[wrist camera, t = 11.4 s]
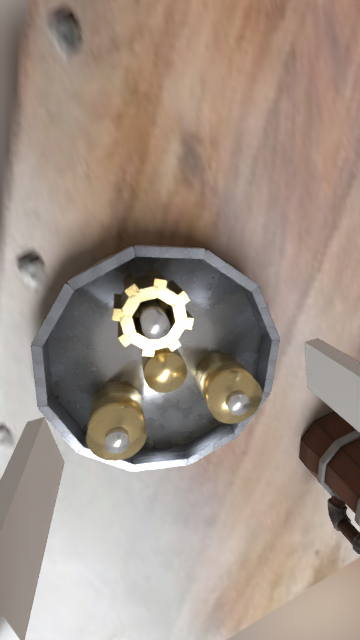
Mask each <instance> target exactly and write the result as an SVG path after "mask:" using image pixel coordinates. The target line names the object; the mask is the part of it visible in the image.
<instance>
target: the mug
mask: <svg viewBox="0 0 360 640" xmlns="http://www.w3.org/2000/svg"><path fill="white" fill-rule="evenodd" d="M300 459H301V461H302V462H303V463H304V465H305V466H306V467H307V468H308V469H309V470H310V471H311V473H312V474H313V475H314V476H315V477H316V478H317V480H318V481H319V483H320V484H321V485H322V486H323V487H324V488H325V489H326V490H327V491H328V493H329V494H330V495H331V496H332V497H331V498H329V499H328V511H329V516H330V519H331V521H332V523H333V525H334V528H335V529H336V530H337V531H341V532H342V534H343V535H344V536H345V537H346V538H347V539H348V540H349V541H350V543H351V544H352V545H353V549H354V550H355V551H356V552H357V553H358V554H360V533H359V531H358V530H357V529H356V528H355V527H354V526H353V525H352V524H351V523H350V522H351V520H350V519H349V518H348V516H347V514H346V510H347V506H348V507H349V508H350V509H351V510H352V511H353V512H354V513H355V514H356V515H355V521H356V523H357V524H358V525H359V526H360V432H358V431H357V430H356V429H355V428H354V427H353V426H351V425H350V424H349V423H348V422H347V421H346V420H345V419H343V418H342V417H341V416H340V415H339V414H338V413H336V412H333V413H331V414H329V415H327V416H324V417H322V418H320V419H318V420H316V421H315V422H314V423H313V425H312V426H311V427H310V429H309V430H308V431H307V433H306V434H305V435H304V436H303V438H302V439H301V448H300ZM345 504H346V505H347V506H346V505H345Z"/></svg>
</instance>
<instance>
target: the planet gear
mask: <svg viewBox="0 0 360 640" xmlns="http://www.w3.org/2000/svg"><path fill="white" fill-rule="evenodd" d="M123 283H124V290H123V292H122V293H121V294H115V293H114V301H113V316H112V320H114V321H118V339H119V341H120V342H121V343H122V344H123V345H124V346H125V347H126V346H128V345H129V344H130V343H132V344H134V345H136V346H138V347H140V348H141V352H142V356H151V357H154V352H155V350H157V349H161V348H165V347H169V348H170V350H171V351H174V350H175V349H176V348H178V347H179V346H181V344H180V342H179V340H178V338H179V337H180V335H181V334H182V332H183V330H184V329H192V325H193V320H194V318H193V317H192V316H191V314H190V313H189V312H188V311H187V309H186V308H185V306H184V305H185V304H186V303H187V302H189V301H190V299H189V298H188V296H187V295H186V293H185V292H184V291H183V290H182V289H181V288H180V287H179V286H178V285H177V284H176V283H175V282H174V281H173V280H171V281H169V282H168V283H167V280H166V279H165V278H164V277H163V275H162V274H161V273H160V272H159V271H157V270H151V269H148V273H147V275H146V276H142V277H138V278H135V277H134V276H133V274H132V273H131V274H129V275H128V276H127V277H125V278H124V279H123ZM155 298H159V299H161V300H163V301H164V302H165V303H166V306H165V308H164V309H163V311H164V313H165V314H166V316H167V318H168V320H169V323H170V329H169V332H168V334H167V335H166V336H165V337H163V338H161V339H158V340H152V339H149V338H148V337H146V336H145V335H144V333H143V331H142V327H141V323H140V318H139V317H138V316H136V315H134V312H135V311H136V309H137V307H138V306H139V304H140V302H143V301H147V300H151V299H155Z"/></svg>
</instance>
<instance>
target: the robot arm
mask: <svg viewBox="0 0 360 640" xmlns="http://www.w3.org/2000/svg"><path fill="white" fill-rule="evenodd" d="M305 360H306V378H307V388H309V389H310V390H311V391H312V392H313V393H314V394H316V395H317V396H318V397H319V398H320V399H321V400H322V401H324V402H325V403H326V404H327V405H328V406H329V407H331V408H332V409H333V410H334V411H335V412H336V413H338V414H339V415H340V416H341V417H342V418H343V419H345V420H346V421H347V422H348V423H349V424H350V425H351V426H353V427H354V428H355V429H356V430H357V431H358V432H360V362H359V361H357V360H355V359H353V358H352V357H350V356H348V355H346V354H345V353H343V352H341V351H339V350H338V349H336V348H334V347H332V346H331V345H329V344H327V343H325V342H324V341H322V340H320V339H318V338H317V339H314V340H310V341H307V342H305ZM63 467H64V460H63V458H62V455H61V453H60V451H59V449H58V446H57V444H56V442H55V440H54V438H53V435H52V433H51V431H50V429H49V426H48V424H47V422H46V420H45V417H43V418H40V419H36V420H33V421H29V422H27V424H26V426H25V428H24V430H23V432H22V435H21V437H20V439H19V441H18V443H17V445H16V448H15V450H14V452H13V454H12V456H11V458H10V461H9V463H8V465H7V467H6V469H5V472H4V474H3V476H2V478H1V480H0V640H25V636H26V631H27V627H28V622H29V618H30V613H31V609H32V605H33V600H34V596H35V591H36V587H37V582H38V578H39V573H40V569H41V564H42V560H43V556H44V551H45V547H46V542H47V538H48V533H49V529H50V524H51V520H52V516H53V511H54V507H55V502H56V498H57V493H58V489H59V484H60V480H61V476H62V471H63Z"/></svg>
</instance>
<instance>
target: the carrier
mask: <svg viewBox="0 0 360 640" xmlns="http://www.w3.org/2000/svg"><path fill="white" fill-rule="evenodd" d="M148 269H151V270H157V271H159V272H160V273H161V274H162V275H163V277H164V278H165V279H166V280H167V283H168V282H169V281H171V280H173V281H174V282H175V283H176V284H177V285H178V286H179V287H180V288H181V289H182V290H183V291H184V292H185V293H186V295H187V296H188V298H189V299H190V301H189V302H187V303H186V304H185V305H184V306H185V308H186V309H187V311H188V312H189V313H190V314H191V316H192V317H193V318H194V320H193V325H192V329H184V330H183V332H182V334H181V335H180V337H179V338H178V340H179V342H180V344H181V346H179V347H178V348H176V349H175V350H174V351H171V350H170V348H169V347H165V348H161V349H157V350H155V352H154V357H151V356H142V352H141V348H140V347H138V346H136V345H134V344H132V343H130V344H129V345H128V346H126V347H125V346H124V345H123V344H122V343H121V342H120V341H119V339H118V321H114V320H112V316H113V301H114V293H115V294H121V293H122V292H123V290H124V283H123V279H124V278H125V277H127V276H128V275H129V274H131V273H132V274H133V276H134V277H135V278H138V277H142V276H146V275H147V273H148ZM165 306H166V303H165V302H164V301H163V300H161V299H159V298H155V299H151V300H147V301H143V302H140V304H139V306H138V307H137V309H136V311H135V312H134V315H136V316H138V317H139V318H140V323H141V327H142V331H143V333H144V335H145V336H146V337H148V338H149V339H152V340H158V339H161V338H163V337H165V336H166V335H167V334H168V332H169V329H170V323H169V320H168V318H167V316H166V314H165V313H164V311H163V309H164V308H165ZM279 338H280V337H279V335H278V332H277V330H276V327H275V324H274V322H273V319H272V317H271V314H270V312H269V309H268V307H267V304H266V302H265V299H264V297H263V294H262V292H261V289H260V287H259V286H258V284H256V283H255V282H253V281H252V280H250V279H249V278H247V277H246V276H245V275H243V274H242V273H240V272H239V271H237V270H236V269H235V268H233V267H232V266H230V265H229V264H227V263H226V262H224V261H223V260H222V259H220V258H219V257H217V256H216V255H214V254H213V253H212V252H210V251H209V250H207V249H204V248H200V247H186V246H171V245H141V244H133V247H132V245H129V246H128V247H126V248H124V249H122V250H120V251H118V252H117V253H114V254H112V255H110V256H108V257H106V258H104V259H101V260H100V261H98V262H97V263H95V264H94V265H92V266H90V267H89V268H87V269H85V270H83V271H81V272H80V273H78V274H76V275H74V276H72V277H71V278H70V279H69V280H68V281H67V282H66V283H65V285H64V286H63V288H62V290H61V292H60V294H59V295H58V297H57V299H56V301H55V303H54V304H53V306H52V308H51V310H50V312H49V313H48V315H47V317H46V319H45V320H44V322H43V324H42V326H41V328H40V329H39V331H38V333H37V335H36V337H35V338H34V340H33V342H32V345H31V351H32V360H33V370H34V379H35V388H36V398H37V407H39V410H40V412H41V413H42V414H43V415H44V416H45V417H46V418H47V420H48V421H49V422H50V423H51V424H52V425H53V426H54V428H55V429H56V430H57V431H58V432H59V433H60V434H61V436H62V437H63V438H64V439H65V440H66V441H67V442H68V444H69V445H70V446H71V447H72V448H73V449H74V450H75V452H78V454H81V455H84V456H87V457H90V458H93V459H96V460H99V461H102V462H105V463H108V464H111V465H114V466H117V467H120V468H123V469H126V470H128V471H132V469H133V471H142V470H151V469H159V468H168V467H176V466H185V465H188V463H189V464H192V463H193V462H195V461H197V460H199V459H200V458H202V457H204V456H206V455H207V454H209V453H211V452H213V451H214V450H216V449H218V448H220V447H221V446H223V445H225V444H227V443H229V442H230V441H232V440H234V439H236V438H237V436H239V435H240V434H241V432H242V431H243V430H244V428H245V427H246V426H247V424H248V423H249V422H250V420H251V419H252V418H253V416H254V415H255V414H256V412H257V411H258V409H259V408H260V407H261V405H262V404H263V403H264V401H265V400H266V399H267V397H268V396H269V395H270V392H271V389H272V384H273V378H274V372H275V366H276V360H277V354H278V348H279V342H280V339H279ZM236 435H237V436H236Z"/></svg>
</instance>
